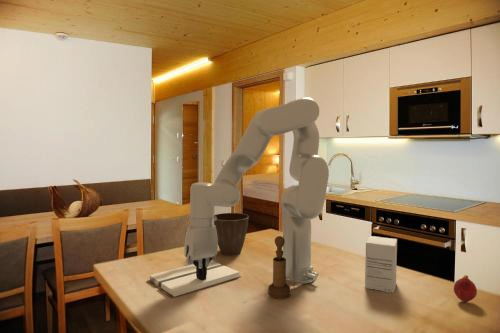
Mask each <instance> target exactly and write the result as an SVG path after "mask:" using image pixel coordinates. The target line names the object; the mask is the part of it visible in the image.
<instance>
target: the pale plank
mask: <svg viewBox="0 0 500 333" xmlns="http://www.w3.org/2000/svg"><path fill="white" fill-rule="evenodd" d="M239 276H240V272H239V271H238V270H236V269H234V268H231V267H228V266H226V265H221V267H217V268H214V269H210V270H207V276H206V280H203V281H201V280H199V279H198V278H197V277H196V273H195V274H191V275H188V276H184V277H180V278H177V279H173V280H169V281H166V282H162V283H161V288H162V289H164V290H165V291H167V292H168V293H170V294H171V295H173V296H174V297H175V296H178V295H181V294H185V293H188V292H191V291H194V290H198V289H201V288H204V287H208V286H211V285H214V284H217V283H221V282H224V281H227V280H230V279H233V280H235V279H234V278H237V277H239ZM237 279H238V278H237ZM230 281H231V280H230ZM227 282H228V281H227ZM224 283H225V282H224ZM221 284H222V283H221ZM217 285H218V284H217ZM214 286H215V285H214ZM211 287H212V286H211ZM208 288H209V287H208ZM204 289H205V288H204ZM201 290H202V289H201ZM198 291H199V290H198ZM191 293H192V292H191ZM188 294H189V293H188ZM185 295H186V294H185ZM178 297H179V296H178ZM175 298H176V297H175Z"/></svg>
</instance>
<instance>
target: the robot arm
mask: <svg viewBox="0 0 500 333" xmlns="http://www.w3.org/2000/svg"><path fill="white" fill-rule="evenodd" d="M319 116H320V106H319V104H318V103H317V102H316V101H315V100H314V99H313V98H311V97H302V98H298V99H293V100H290V101H288V102H287V103H285V104H284V103H283V104H281V105H278V106H273V107H269V108H265V109H261V110H259V111H258V112H256V113H255V114H254V116H253V117H252V118H251V121H250V122H249V124H248V126H247V128H246V129H245V132H244V134H243V135H242V137H241V139H240V140H239V142H238V144H237V145H236V147H235V149H234V151H232V153H231V154H230V155H229V158H228V159H227V160H226V162H225V163H224V164H223V166H222V167H221V169H220V171H219V173H218V175H217V177H216V178H215V180H214V181H213V182H214V183H210V182H201V181H200V182H194V183H192V184H191V186H190V189H189V190H190V192H189V193H190V194H189V195H190V197H189V200H190V201H189V205H190V206H189V226H187V227H186V228H187V229H186V232H185V236H184V237H185V238H184V246H183V247H184V250H183V255H184V257H186V260H185V263H186V264H188V265H192V264H194V265H195V266H196V277H197V278H198V279H199V280H201V281H203V280H206V276H207V267H208V266H209V263H210V261H211V260H213V261H214V259H216V258H217V257H218V256H217V255H218V250H219V246H218V239H217V231H216V226H215V225H214V221H216V220H217V217H216V216H215V217H214V215H215V207H223V208H232V207H234V206H236V205H237V204H238V203H239V201H240V200H241V191H240V189H239V187H237V185H238V184H239V182H240V181H241V180H242V178H243V176H244V175H245V174H246V172H248V170H250V169H252V168H253V167H254V166H255V165H257V164H258V163H259V162H260V160H261V159H262V156H263V155H264V153H265V151H266V149H267V148H268V145H269V144H270V142H271V140H272V138H273V136H280V135H282V134H287V133H289V132H292V135H293V144H292V151H291V156H290V163H289V176H290V177H291V178H292V179H293V180H295V181H297V182H298V184H293V185H290V186H288V187H287V188H285V189H284V191H283V192H282V194H281V198H280V206H281V214H282V237H283V238H284V240H285V243H284V245H283V247H282V251H283V256H282V257H283V258H285V259H286V281H290V282H295V283H293V285H305V284H306V285H307V284H310V283H312V282H316V281H317V279H318V277H319V273H318V272H316V271H314V266H313V265H312V263H311V262H312V255H311V254H312V248H311V247H312V220H313V219H316V218H317V217H318V216H319V215H320V214H321V213H322V211H323V208H324V205H325V201H326V194H327V190H328V182H329V176H330V174H329V171H330V170H329V166H328V163H327V161H326V160H325V159H324V158H323V157H322V156H321V155H319V146H320V133H319V128H318V126H317V124H316V121H317V120H318V118H319Z"/></svg>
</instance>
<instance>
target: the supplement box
mask: <svg viewBox="0 0 500 333" xmlns="http://www.w3.org/2000/svg"><path fill="white" fill-rule="evenodd" d="M397 254H398V238H392V237H390V238H389V237H383V236H382V237H381V236H375V235H373V236H372V235H370V236H369V237H368V238H367V240H366V242H365V263H364V265H365V266H364V267H365V268H364V269H365V270H364V271H365V272H364V288H365V289H369V290H373V289H375V290H374V291H379V290H380V291H381V292H386V293H391V292H392V293H393V294H394V293H395V290H396V287H397V286H396V285H397V261H398V260H397V256H398V255H397Z"/></svg>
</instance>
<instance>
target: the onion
mask: <svg viewBox="0 0 500 333" xmlns="http://www.w3.org/2000/svg"><path fill="white" fill-rule="evenodd" d="M477 290H478V289H477V287H476V284H475V283H474V282H473V281H472V280H471V279H469V275H467V274H464V275H463V277H461V278H459V279H457V280H456V281H455V283H454V285H453V293H454V295H455V296H456V297H457V298H458V299H459V300H460V301H461V302H463V303H467V302H468V303H469V302H470V301H472V300H474V299H475V298H476V297H477V295H478V291H477Z"/></svg>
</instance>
